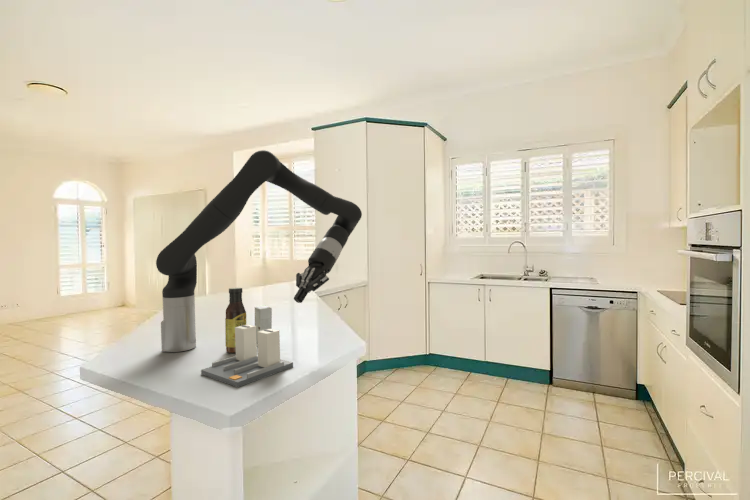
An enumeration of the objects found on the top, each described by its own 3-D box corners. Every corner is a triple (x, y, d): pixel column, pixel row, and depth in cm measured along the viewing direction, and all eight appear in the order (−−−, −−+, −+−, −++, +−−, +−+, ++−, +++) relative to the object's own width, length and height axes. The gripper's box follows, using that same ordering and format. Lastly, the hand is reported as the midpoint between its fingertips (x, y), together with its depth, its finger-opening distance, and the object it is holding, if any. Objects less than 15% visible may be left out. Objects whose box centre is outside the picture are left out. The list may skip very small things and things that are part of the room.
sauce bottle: (239, 354, 113) (237, 289, 113) (221, 353, 114) (219, 289, 114) (251, 348, 119) (249, 286, 119) (233, 347, 121) (231, 286, 120)
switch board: (256, 357, 110) (256, 349, 110) (293, 366, 100) (292, 358, 100) (201, 374, 96) (200, 365, 96) (237, 387, 87) (237, 378, 87)
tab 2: (270, 361, 100) (269, 328, 100) (280, 364, 98) (279, 329, 98) (258, 365, 97) (257, 331, 97) (267, 368, 95) (266, 332, 95)
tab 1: (248, 355, 106) (247, 323, 106) (256, 358, 104) (256, 325, 104) (235, 359, 103) (234, 326, 103) (244, 361, 101) (243, 328, 100)
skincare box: (254, 341, 128) (253, 306, 128) (266, 339, 131) (265, 304, 130) (259, 345, 123) (258, 308, 123) (273, 342, 126) (272, 307, 125)
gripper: (304, 247, 116) (274, 292, 107) (333, 246, 108) (304, 294, 99) (318, 263, 121) (290, 307, 111) (347, 262, 112) (320, 310, 103)
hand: (297, 301), depth 105 cm, fingers closed
